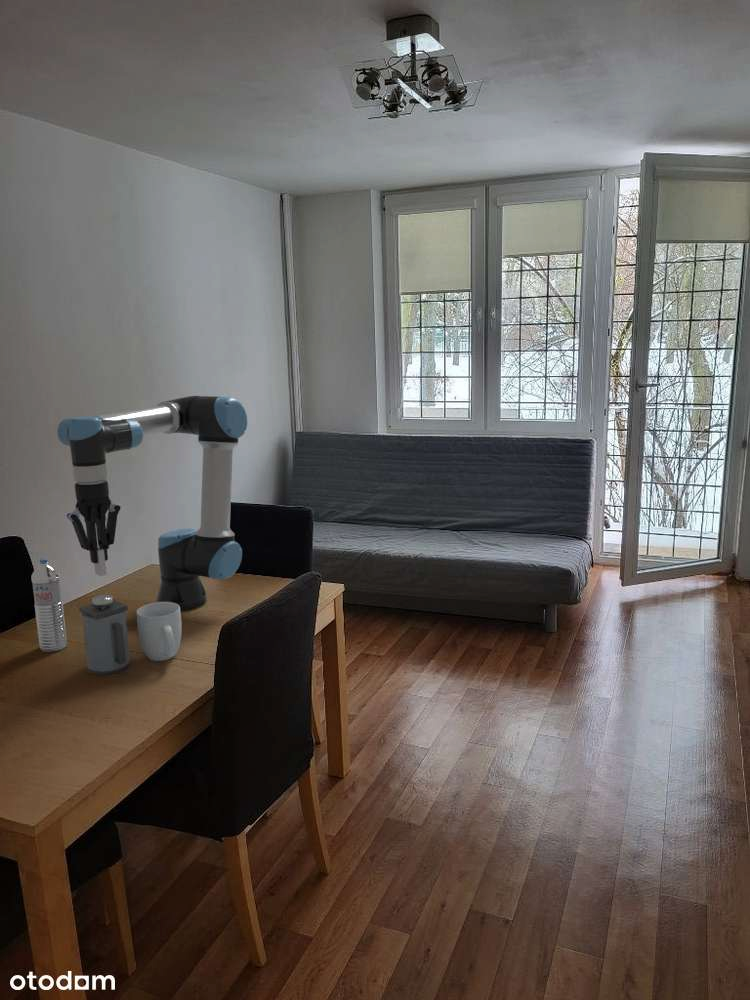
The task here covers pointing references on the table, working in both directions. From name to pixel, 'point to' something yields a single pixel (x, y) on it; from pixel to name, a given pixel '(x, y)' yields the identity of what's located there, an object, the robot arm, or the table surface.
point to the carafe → (105, 638)
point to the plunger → (102, 601)
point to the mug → (159, 629)
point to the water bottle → (49, 608)
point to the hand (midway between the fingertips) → (100, 574)
